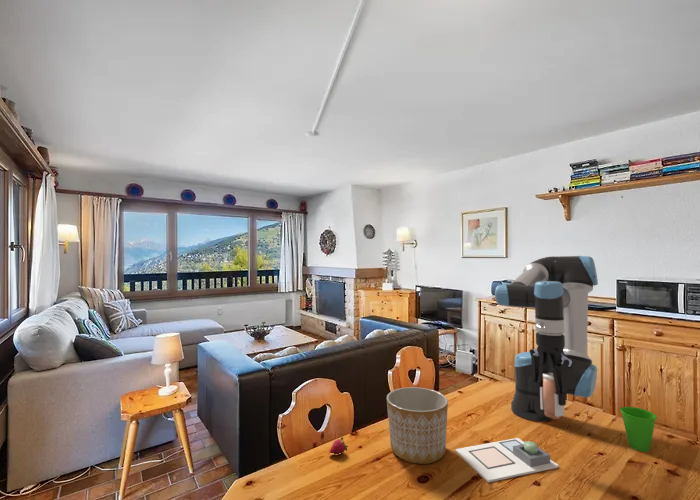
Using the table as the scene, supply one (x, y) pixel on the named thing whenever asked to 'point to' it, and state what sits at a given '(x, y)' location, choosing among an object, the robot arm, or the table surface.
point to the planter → (417, 424)
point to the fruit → (338, 446)
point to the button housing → (531, 460)
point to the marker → (549, 395)
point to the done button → (530, 448)
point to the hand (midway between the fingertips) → (552, 411)
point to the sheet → (499, 460)
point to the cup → (638, 427)
